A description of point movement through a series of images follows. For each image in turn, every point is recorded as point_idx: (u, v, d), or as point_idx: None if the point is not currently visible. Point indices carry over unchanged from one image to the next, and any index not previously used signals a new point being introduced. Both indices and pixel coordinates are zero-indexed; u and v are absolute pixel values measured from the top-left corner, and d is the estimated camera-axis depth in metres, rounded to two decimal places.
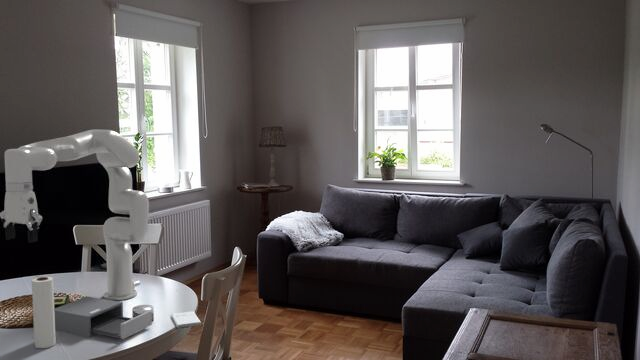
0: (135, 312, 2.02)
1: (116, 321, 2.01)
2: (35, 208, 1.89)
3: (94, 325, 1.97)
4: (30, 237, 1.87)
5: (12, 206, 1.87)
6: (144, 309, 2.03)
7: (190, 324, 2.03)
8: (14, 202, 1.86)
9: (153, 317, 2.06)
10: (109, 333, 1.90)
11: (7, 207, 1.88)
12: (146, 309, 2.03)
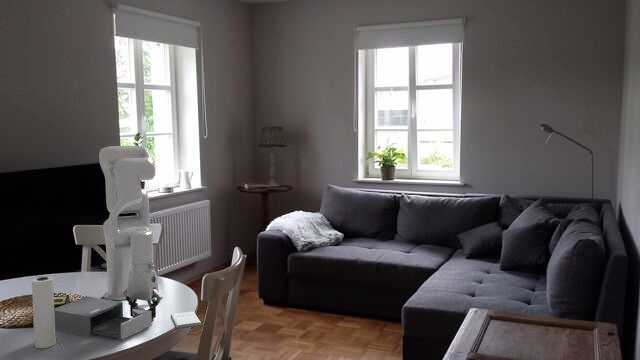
0: (135, 312, 2.02)
1: (116, 321, 2.01)
2: (156, 286, 2.03)
3: (94, 325, 1.97)
4: None
5: (136, 284, 2.01)
6: (144, 309, 2.03)
7: (190, 324, 2.02)
8: (138, 281, 2.01)
9: None
10: (109, 333, 1.90)
11: (131, 285, 2.03)
12: (146, 309, 2.03)
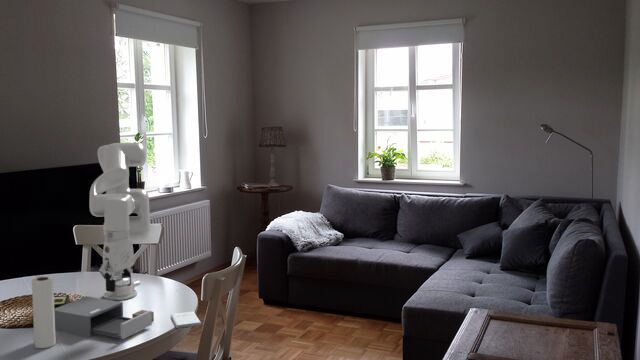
0: None
1: (116, 321, 2.01)
2: (110, 258, 1.89)
3: (94, 325, 1.97)
4: None
5: None
6: None
7: (190, 324, 2.02)
8: None
9: (153, 317, 2.06)
10: (109, 333, 1.90)
11: None
12: None
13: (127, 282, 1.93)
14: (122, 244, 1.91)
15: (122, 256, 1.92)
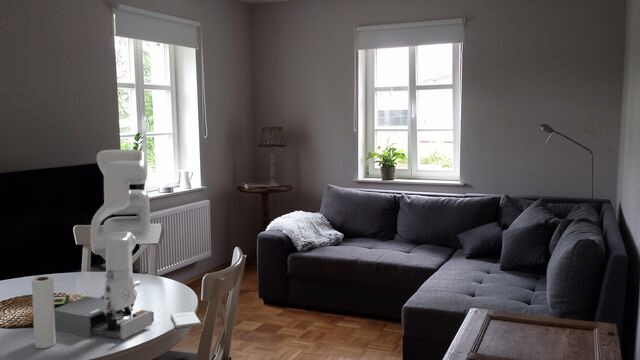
0: None
1: None
2: (111, 298, 1.90)
3: (94, 325, 1.97)
4: None
5: None
6: None
7: (190, 324, 2.02)
8: None
9: (153, 317, 2.06)
10: (109, 333, 1.90)
11: None
12: None
13: None
14: (123, 283, 1.93)
15: (123, 295, 1.93)
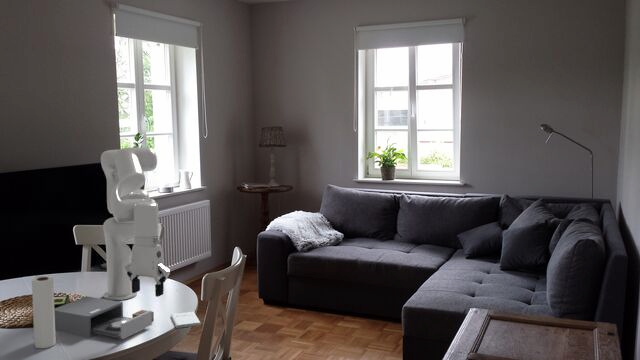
0: None
1: None
2: (162, 261, 1.89)
3: (94, 325, 1.97)
4: (157, 291, 1.87)
5: (140, 259, 1.87)
6: (114, 322, 1.95)
7: (189, 324, 2.02)
8: (142, 256, 1.87)
9: (153, 317, 2.06)
10: (109, 333, 1.90)
11: (134, 260, 1.88)
12: (113, 322, 1.95)
13: None
14: None
15: None
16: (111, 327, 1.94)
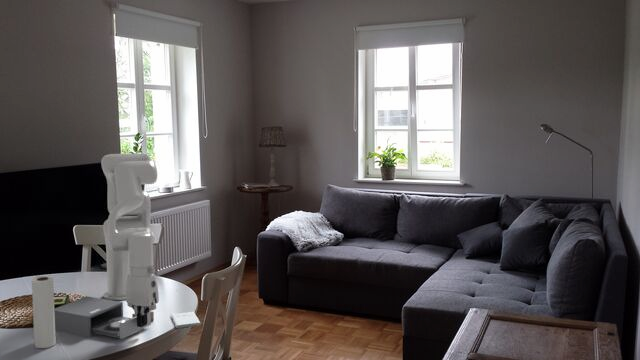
0: None
1: None
2: (156, 291, 1.91)
3: (93, 325, 1.97)
4: (141, 322, 1.91)
5: (135, 289, 1.89)
6: (113, 321, 1.95)
7: (189, 325, 2.02)
8: (137, 286, 1.89)
9: (153, 317, 2.06)
10: (108, 333, 1.90)
11: (129, 290, 1.90)
12: (112, 322, 1.95)
13: None
14: None
15: None
16: (110, 327, 1.94)
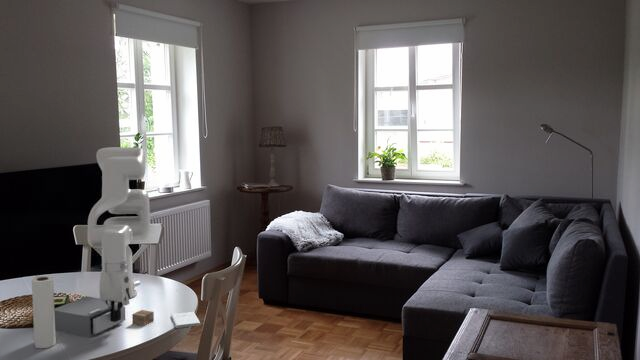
0: None
1: None
2: (129, 286, 1.95)
3: None
4: (115, 317, 1.95)
5: (108, 284, 1.93)
6: None
7: (189, 325, 2.02)
8: (110, 281, 1.93)
9: (153, 317, 2.06)
10: None
11: (103, 286, 1.94)
12: None
13: None
14: None
15: None
16: None
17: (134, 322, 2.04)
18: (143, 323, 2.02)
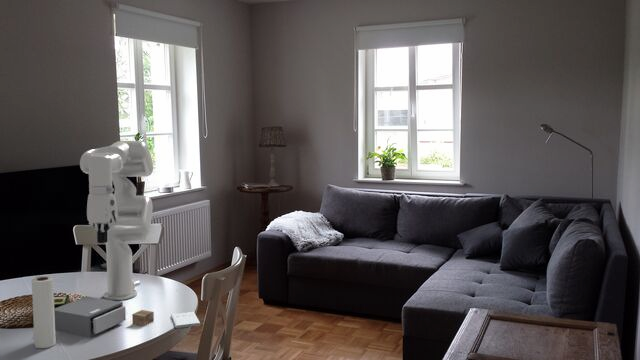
0: None
1: None
2: (115, 209, 2.05)
3: None
4: (101, 238, 2.06)
5: (95, 207, 2.04)
6: None
7: (189, 325, 2.02)
8: (97, 204, 2.03)
9: (153, 317, 2.06)
10: None
11: (90, 208, 2.05)
12: None
13: None
14: None
15: None
16: None
17: (134, 322, 2.04)
18: (143, 323, 2.02)
